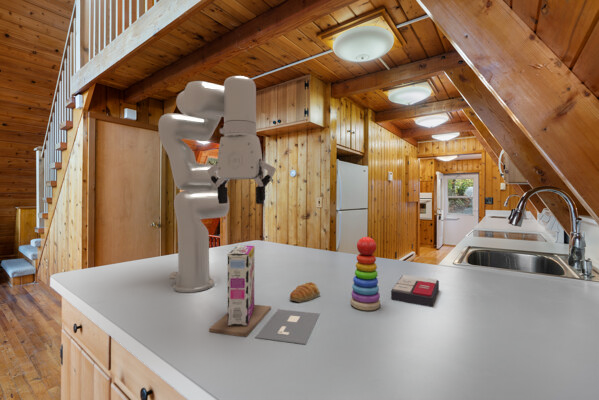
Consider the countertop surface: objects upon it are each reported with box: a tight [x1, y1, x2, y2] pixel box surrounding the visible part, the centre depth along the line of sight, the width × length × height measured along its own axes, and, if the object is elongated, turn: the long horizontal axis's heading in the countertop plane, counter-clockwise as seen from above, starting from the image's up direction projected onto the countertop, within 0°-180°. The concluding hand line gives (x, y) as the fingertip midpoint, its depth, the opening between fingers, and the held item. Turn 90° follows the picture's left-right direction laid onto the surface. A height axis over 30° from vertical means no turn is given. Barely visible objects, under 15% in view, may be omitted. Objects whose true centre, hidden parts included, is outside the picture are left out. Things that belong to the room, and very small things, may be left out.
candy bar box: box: [227, 245, 255, 326], centre depth 71 cm, size 11×5×16 cm, turn 1°
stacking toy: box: [349, 236, 381, 312], centre depth 79 cm, size 8×8×19 cm
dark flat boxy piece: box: [390, 274, 440, 308], centre depth 87 cm, size 11×4×15 cm
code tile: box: [254, 308, 320, 345], centre depth 68 cm, size 11×15×1 cm
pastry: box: [289, 281, 321, 303], centre depth 85 cm, size 9×7×4 cm
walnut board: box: [208, 304, 272, 338], centre depth 71 cm, size 9×15×1 cm, turn 165°
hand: (241, 203), depth 70 cm, fingers open, 9 cm apart
